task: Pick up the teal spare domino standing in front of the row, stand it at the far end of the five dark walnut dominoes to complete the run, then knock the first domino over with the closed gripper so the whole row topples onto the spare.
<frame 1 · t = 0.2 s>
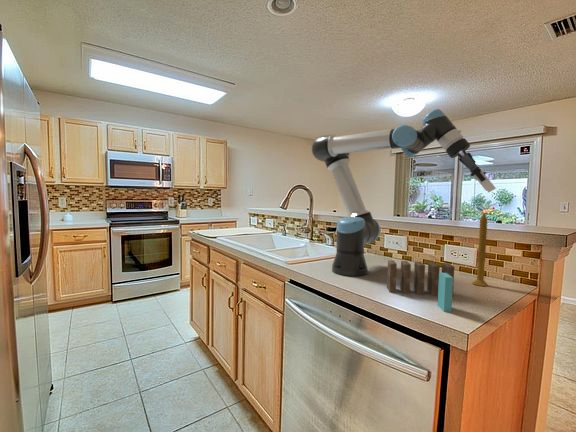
hand: (491, 189, 101), 36 cm above the countertop, tool tilted 35°, fingers open, 13 cm apart
candlestick: (479, 285, 107), on the countertop
domino 1: (391, 290, 99), on the countertop
domino 3: (418, 291, 98), on the countertop
spare domino: (444, 308, 83), on the countertop
domino 4: (432, 292, 97), on the countertop
domino 2: (404, 291, 99), on the countertop
domino 5: (446, 293, 96), on the countertop
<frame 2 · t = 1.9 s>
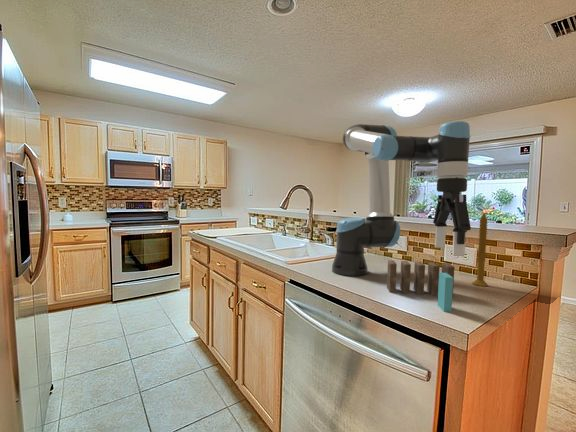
hand: (448, 251, 82), 17 cm above the countertop, tool pointing down, fingers open, 13 cm apart
nothing on the countertop moved.
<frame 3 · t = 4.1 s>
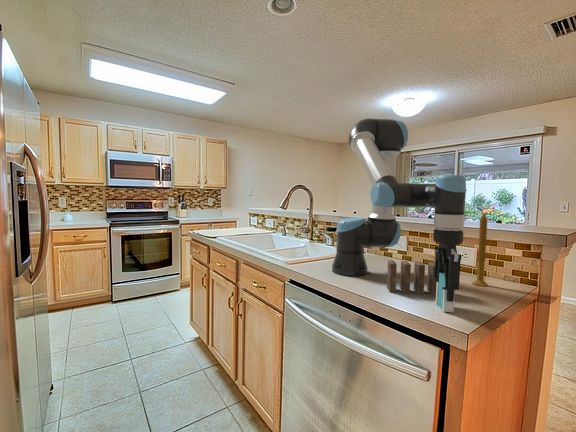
hand: (444, 307, 83), 0 cm above the countertop, tool pointing down, fingers closed on spare domino, 5 cm apart
spare domino: (444, 308, 83), on the countertop, touching gripper
everything else where it was.
when the fingers open (1 cm above the countertop, at t = 8.7 s): spare domino stays where it is, on the countertop.
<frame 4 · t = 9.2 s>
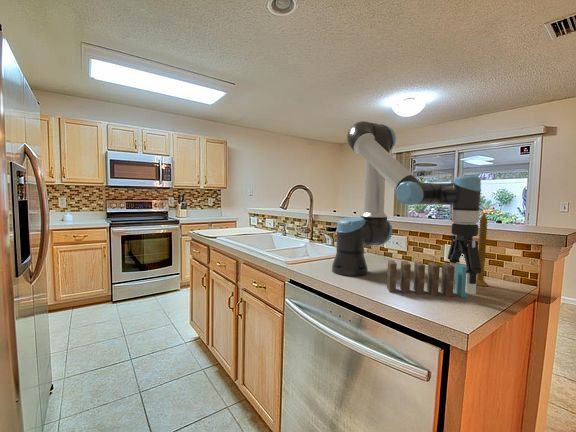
hand: (461, 286, 95), 3 cm above the countertop, tool pointing down, fingers open, 12 cm apart
spare domino: (461, 294, 95), on the countertop
everything else where it was.
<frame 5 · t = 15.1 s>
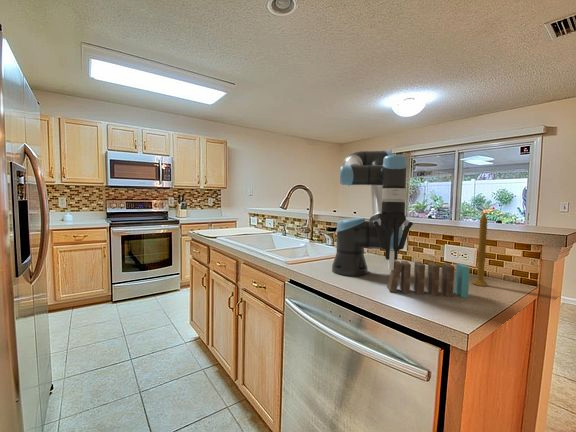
hand: (390, 268, 99), 8 cm above the countertop, tool pointing down, fingers closed
domino 1: (391, 289, 99), on the countertop, tilted 11°
everything else where it was.
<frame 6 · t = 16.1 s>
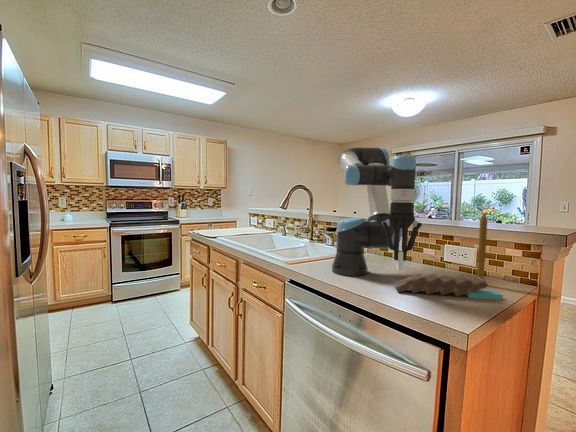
hand: (399, 269, 98), 7 cm above the countertop, tool pointing down, fingers closed
domino 1: (395, 287, 99), point 1 cm above the countertop, tilted 64°, touching domino 2
domino 3: (423, 289, 97), point 1 cm above the countertop, tilted 64°, touching domino 2, domino 4
spare domino: (465, 293, 95), point 1 cm above the countertop, tilted 90°
domino 4: (438, 290, 97), point 1 cm above the countertop, tilted 64°, touching domino 3, domino 5
domino 2: (409, 288, 98), point 1 cm above the countertop, tilted 64°, touching domino 1, domino 3
domino 5: (452, 291, 96), point 1 cm above the countertop, tilted 65°, touching domino 4
everything else where it was.
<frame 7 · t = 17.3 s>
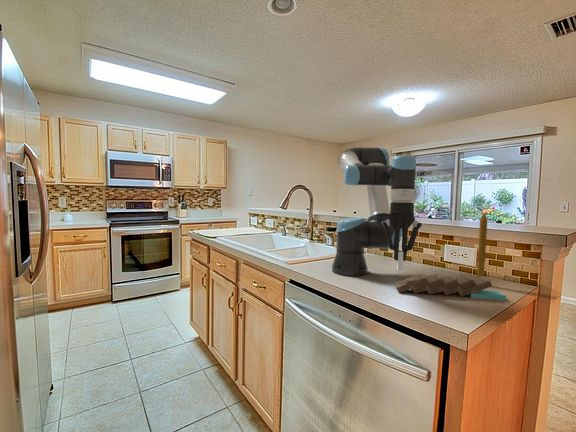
hand: (399, 269, 98), 7 cm above the countertop, tool pointing down, fingers closed
domino 4: (441, 290, 97), point 1 cm above the countertop, tilted 65°, touching domino 3, domino 5
domino 5: (456, 291, 96), point 1 cm above the countertop, tilted 65°, touching domino 4
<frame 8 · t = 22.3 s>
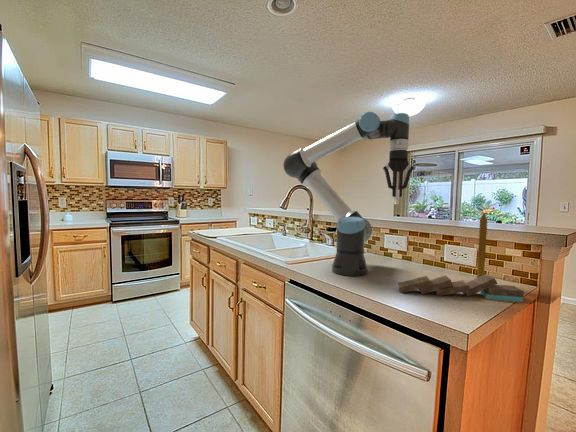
hand: (396, 204, 126), 29 cm above the countertop, tool pointing down, fingers closed
domino 1: (399, 287, 99), point 1 cm above the countertop, tilted 70°
domino 3: (434, 290, 97), point 1 cm above the countertop, tilted 75°, touching domino 2
spare domino: (483, 294, 95), on the countertop, tilted 90°, touching domino 5
domino 4: (462, 291, 96), point 1 cm above the countertop, tilted 59°
domino 2: (419, 289, 98), point 1 cm above the countertop, tilted 67°, touching domino 3
domino 5: (484, 289, 94), point 2 cm above the countertop, tilted 90°, touching spare domino
everything else where it was.
at the end: spare domino tilted 90°; spare domino inside the target area (3.9 cm from its centre), on the countertop; domino 1 tilted 70° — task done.
